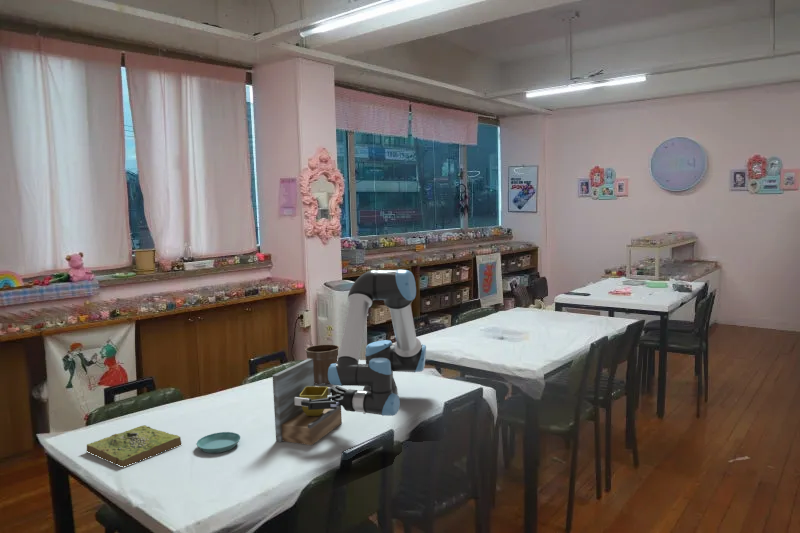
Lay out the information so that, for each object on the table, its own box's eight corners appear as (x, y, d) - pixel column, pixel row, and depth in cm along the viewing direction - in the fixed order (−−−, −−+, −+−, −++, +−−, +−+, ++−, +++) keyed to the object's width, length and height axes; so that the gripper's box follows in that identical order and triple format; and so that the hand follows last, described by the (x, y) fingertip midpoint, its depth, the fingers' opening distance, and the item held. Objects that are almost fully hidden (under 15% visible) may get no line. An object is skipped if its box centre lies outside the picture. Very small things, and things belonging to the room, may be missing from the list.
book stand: (343, 422, 223) (340, 361, 221) (310, 446, 201) (306, 378, 199) (311, 418, 228) (308, 358, 226) (276, 441, 206) (272, 375, 204)
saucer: (195, 443, 208) (194, 436, 207) (237, 436, 213) (237, 429, 213) (198, 459, 194) (198, 451, 194) (243, 450, 200) (243, 443, 199)
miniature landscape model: (122, 470, 188) (121, 455, 188) (86, 454, 202) (85, 440, 202) (182, 446, 206) (181, 433, 205) (144, 433, 220) (144, 420, 219)
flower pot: (307, 408, 220) (305, 385, 218) (329, 408, 219) (328, 386, 217) (300, 418, 212) (298, 395, 210) (324, 419, 210) (322, 395, 209)
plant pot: (307, 377, 286) (305, 345, 285) (340, 375, 288) (339, 343, 286) (305, 386, 270) (304, 352, 269) (340, 384, 272) (339, 350, 270)
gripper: (340, 423, 195) (286, 416, 203) (372, 400, 217) (323, 394, 226) (339, 401, 194) (285, 395, 202) (371, 380, 217) (322, 376, 225)
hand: (305, 395), depth 214 cm, fingers open, 13 cm apart
